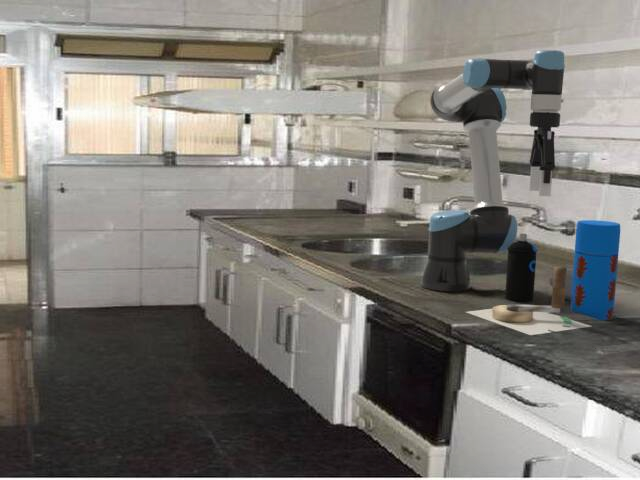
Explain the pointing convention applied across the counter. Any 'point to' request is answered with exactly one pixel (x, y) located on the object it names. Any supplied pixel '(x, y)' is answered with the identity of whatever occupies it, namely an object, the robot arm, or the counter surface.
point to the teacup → (568, 283)
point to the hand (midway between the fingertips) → (539, 193)
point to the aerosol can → (521, 271)
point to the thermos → (595, 268)
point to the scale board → (534, 322)
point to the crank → (526, 311)
